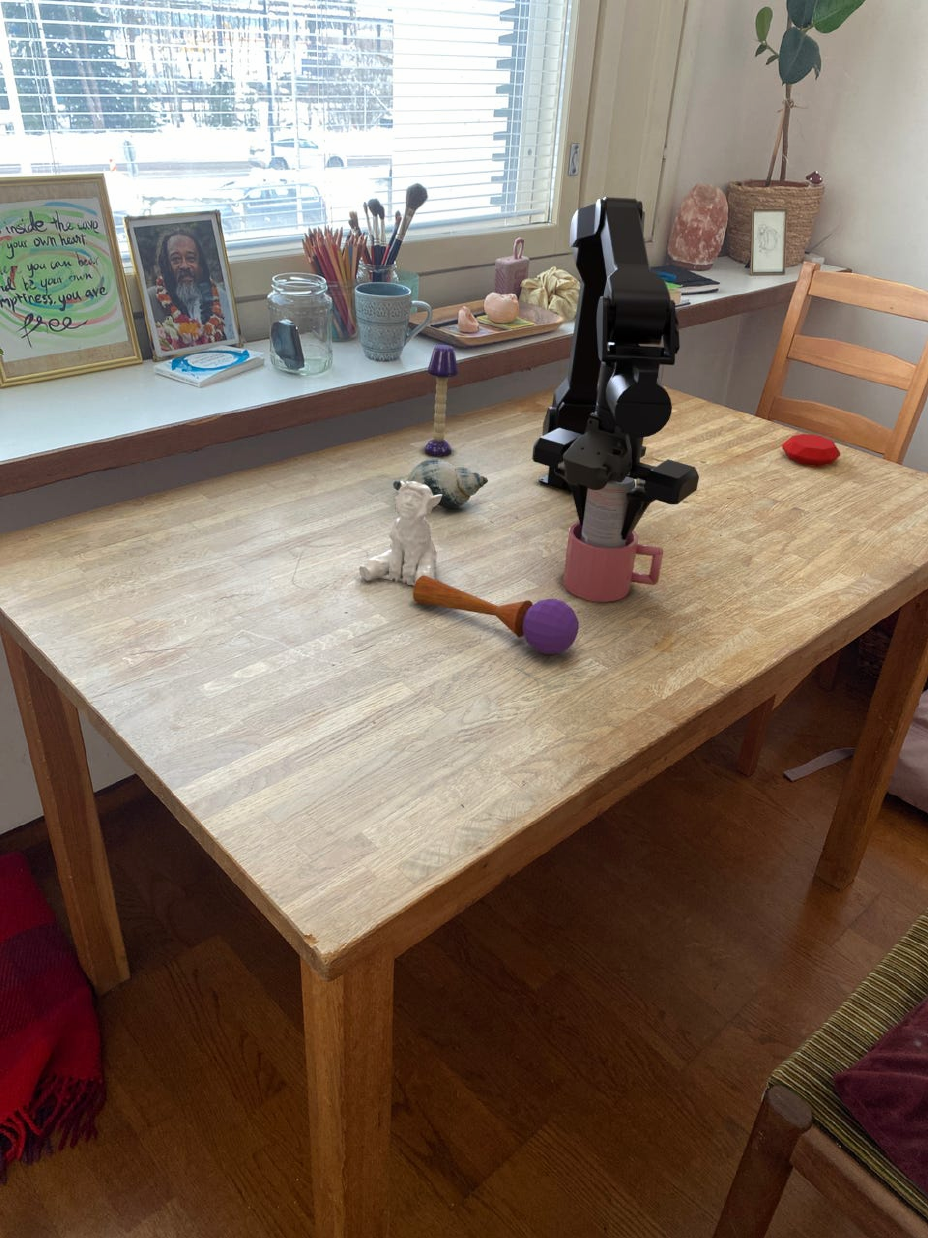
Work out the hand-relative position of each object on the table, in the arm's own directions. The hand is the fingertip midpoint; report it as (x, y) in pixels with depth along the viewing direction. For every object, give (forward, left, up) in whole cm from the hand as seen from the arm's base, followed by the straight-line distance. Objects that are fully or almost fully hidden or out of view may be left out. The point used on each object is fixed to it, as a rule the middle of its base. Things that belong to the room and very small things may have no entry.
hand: (603, 531), depth 112 cm
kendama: (+17, -4, -8) cm, 19 cm away
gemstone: (-62, +6, -8) cm, 63 cm away
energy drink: (0, 0, -5) cm, 5 cm away
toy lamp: (-22, -41, -8) cm, 47 cm away
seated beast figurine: (+13, -19, -8) cm, 24 cm away
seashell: (-6, -29, -8) cm, 31 cm away
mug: (-1, +1, -7) cm, 7 cm away
